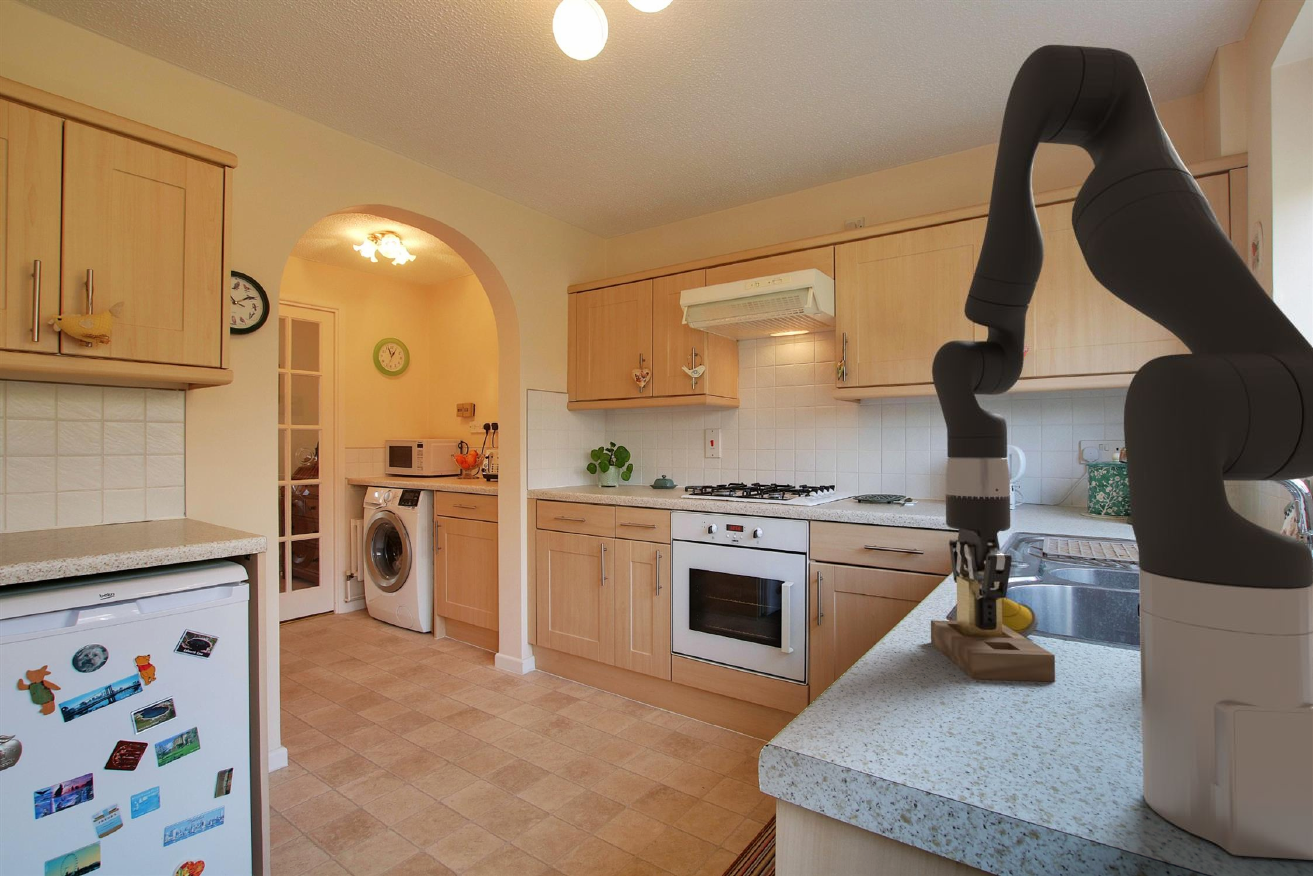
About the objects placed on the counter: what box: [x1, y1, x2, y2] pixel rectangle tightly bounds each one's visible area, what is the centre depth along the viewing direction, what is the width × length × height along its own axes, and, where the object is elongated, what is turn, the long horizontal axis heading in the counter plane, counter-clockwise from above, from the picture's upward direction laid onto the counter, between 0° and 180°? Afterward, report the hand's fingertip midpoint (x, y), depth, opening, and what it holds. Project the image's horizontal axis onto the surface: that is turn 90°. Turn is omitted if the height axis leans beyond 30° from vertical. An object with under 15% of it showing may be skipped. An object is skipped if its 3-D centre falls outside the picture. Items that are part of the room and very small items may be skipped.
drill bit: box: [1002, 597, 1039, 638], centre depth 87 cm, size 5×5×10 cm
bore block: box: [930, 619, 1056, 683], centre depth 78 cm, size 14×9×3 cm, turn 175°
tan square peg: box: [956, 576, 1002, 638], centre depth 81 cm, size 4×4×8 cm
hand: (978, 623), depth 81 cm, fingers closed on tan square peg, 4 cm apart
